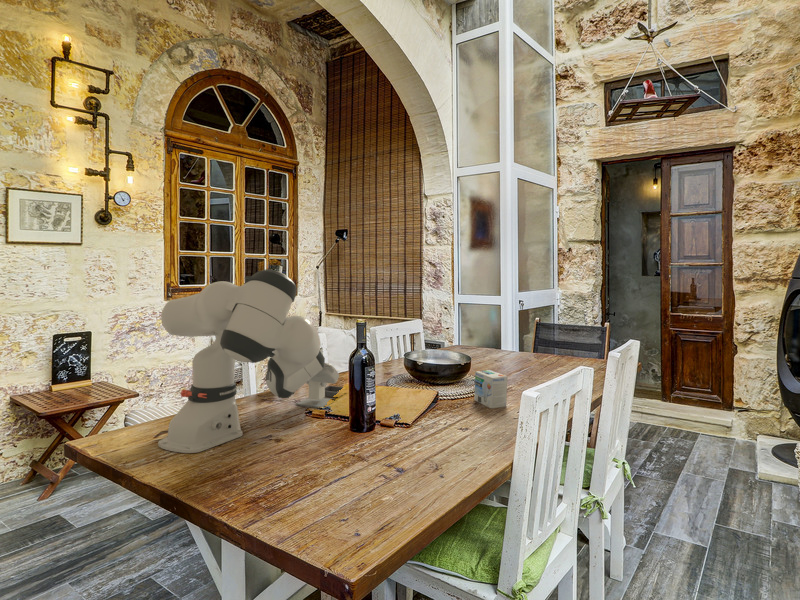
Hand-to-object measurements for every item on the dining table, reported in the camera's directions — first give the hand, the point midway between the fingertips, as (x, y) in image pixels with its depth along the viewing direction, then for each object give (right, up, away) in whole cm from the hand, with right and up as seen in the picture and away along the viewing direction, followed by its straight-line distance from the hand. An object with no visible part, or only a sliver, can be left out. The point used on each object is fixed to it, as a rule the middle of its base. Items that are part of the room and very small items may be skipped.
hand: (317, 384), depth 166 cm
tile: (0, -7, 0) cm, 7 cm away
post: (0, -5, 0) cm, 5 cm away
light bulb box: (+60, -7, +2) cm, 61 cm away
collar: (+4, -6, +11) cm, 13 cm away
